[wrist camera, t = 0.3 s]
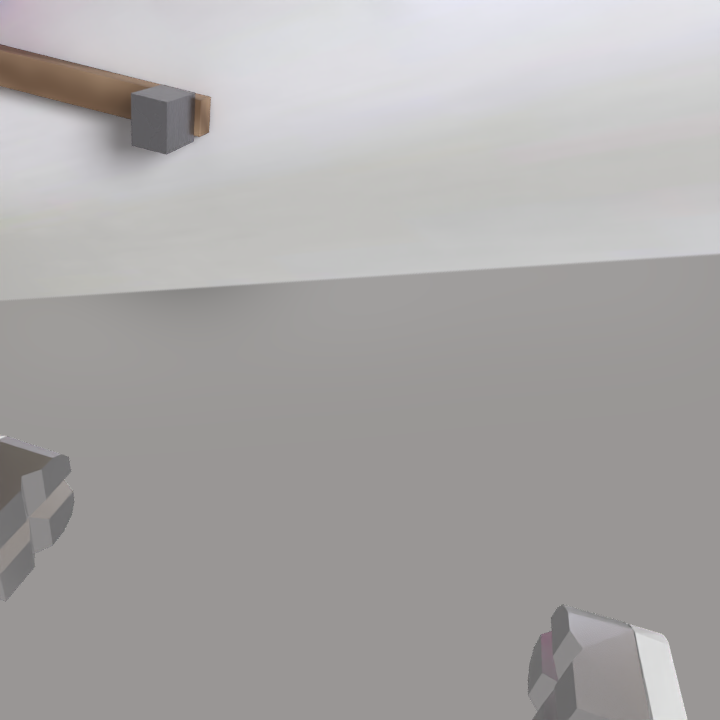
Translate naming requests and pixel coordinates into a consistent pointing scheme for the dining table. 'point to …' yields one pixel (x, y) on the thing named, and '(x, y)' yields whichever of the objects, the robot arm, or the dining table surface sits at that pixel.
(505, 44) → the dining table surface
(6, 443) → the robot arm
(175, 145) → the l-shaped wooden bracket
